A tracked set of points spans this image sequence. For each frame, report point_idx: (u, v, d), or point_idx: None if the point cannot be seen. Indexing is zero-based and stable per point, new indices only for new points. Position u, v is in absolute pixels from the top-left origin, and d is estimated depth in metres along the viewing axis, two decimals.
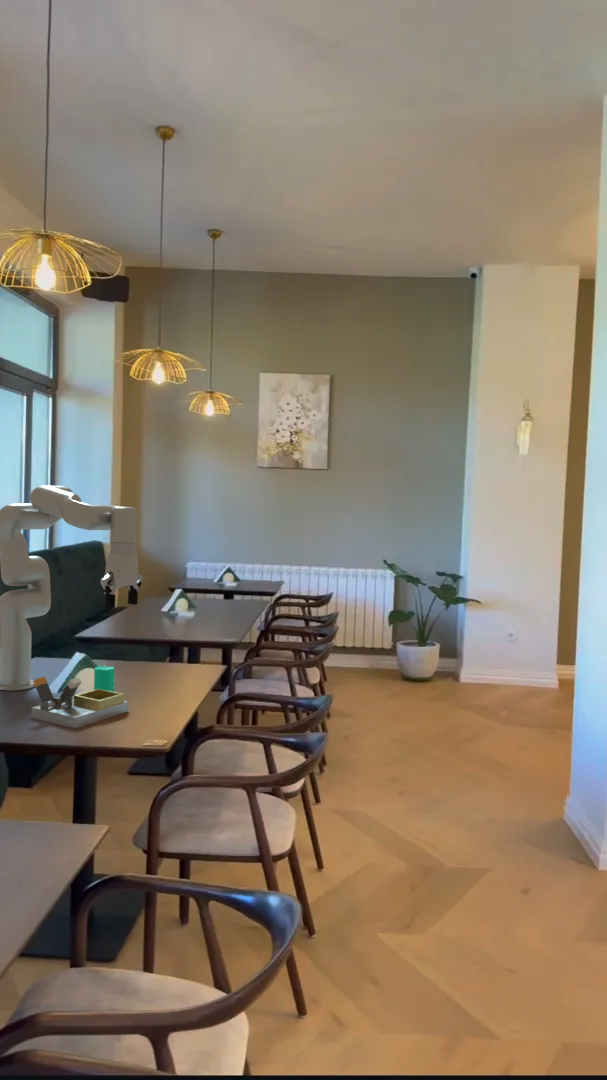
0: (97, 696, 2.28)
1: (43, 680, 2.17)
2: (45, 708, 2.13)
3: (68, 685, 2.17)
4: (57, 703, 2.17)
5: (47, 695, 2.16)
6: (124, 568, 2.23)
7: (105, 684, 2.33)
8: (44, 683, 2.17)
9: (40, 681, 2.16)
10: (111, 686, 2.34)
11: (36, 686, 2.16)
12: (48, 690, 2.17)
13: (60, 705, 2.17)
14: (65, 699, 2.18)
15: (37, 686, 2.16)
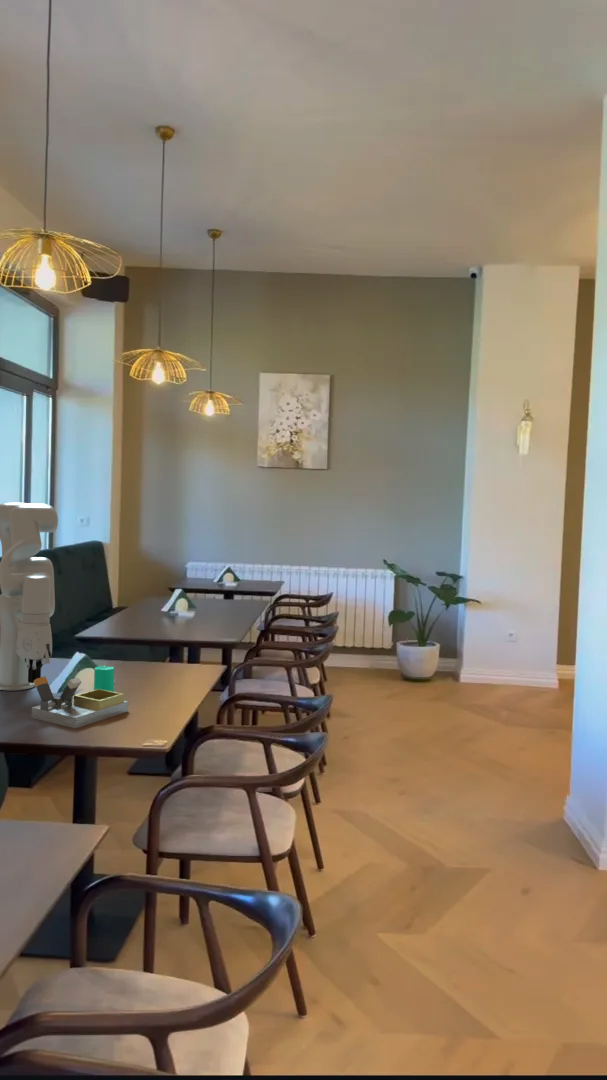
0: (97, 696, 2.28)
1: (44, 680, 2.17)
2: (45, 708, 2.13)
3: (68, 685, 2.17)
4: (57, 703, 2.17)
5: (47, 695, 2.16)
6: None
7: (105, 684, 2.33)
8: (44, 683, 2.17)
9: (40, 681, 2.16)
10: (111, 686, 2.34)
11: (37, 686, 2.16)
12: (48, 690, 2.17)
13: (60, 705, 2.17)
14: (65, 699, 2.18)
15: (38, 686, 2.16)
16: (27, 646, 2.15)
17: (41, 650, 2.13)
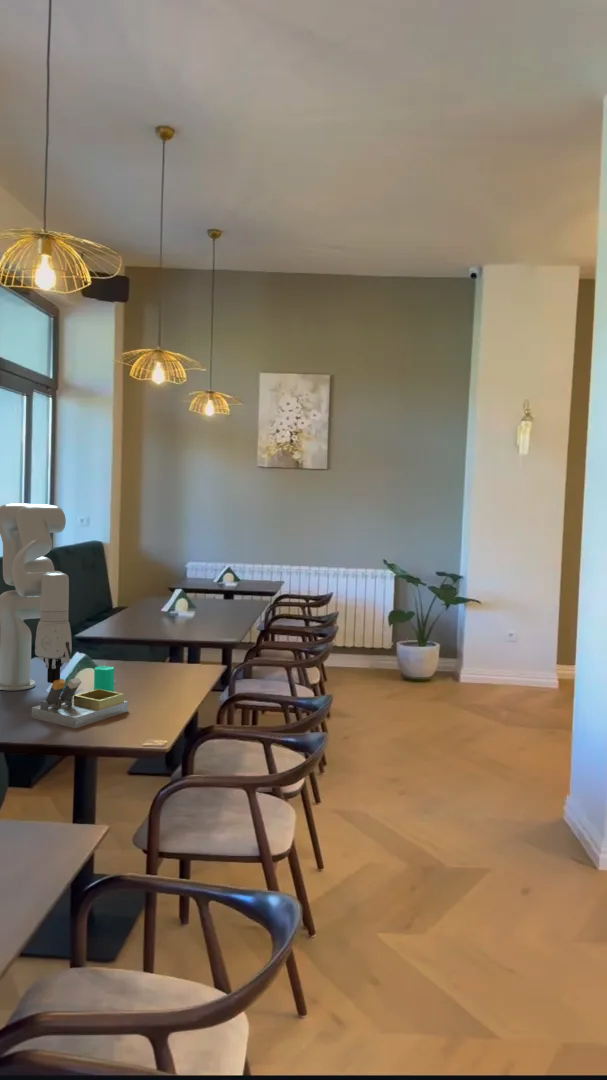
0: (97, 696, 2.28)
1: (62, 686, 2.14)
2: (45, 708, 2.13)
3: (68, 685, 2.17)
4: (57, 703, 2.17)
5: (54, 699, 2.14)
6: None
7: (105, 684, 2.33)
8: (60, 688, 2.14)
9: (58, 686, 2.13)
10: (111, 686, 2.34)
11: (52, 687, 2.13)
12: (58, 694, 2.15)
13: (60, 705, 2.17)
14: (65, 699, 2.18)
15: (53, 688, 2.13)
16: (46, 645, 2.12)
17: (61, 648, 2.10)
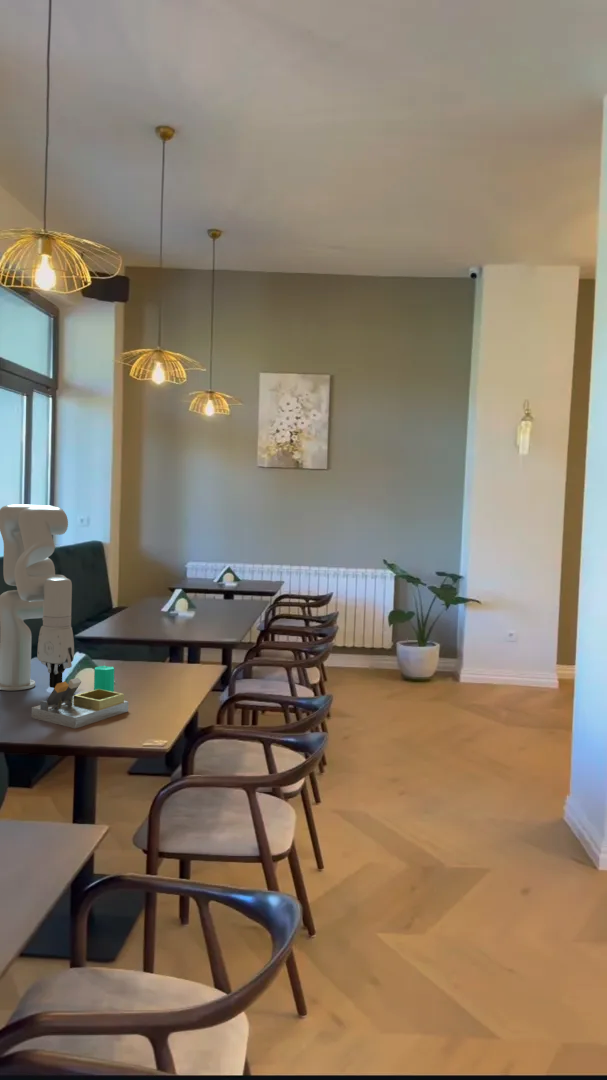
0: (97, 696, 2.28)
1: (64, 689, 2.13)
2: (45, 708, 2.13)
3: None
4: (57, 703, 2.17)
5: (55, 700, 2.14)
6: None
7: (105, 684, 2.33)
8: (62, 691, 2.14)
9: (61, 690, 2.12)
10: (111, 686, 2.34)
11: (55, 689, 2.12)
12: (60, 696, 2.15)
13: (60, 705, 2.17)
14: (65, 699, 2.18)
15: (55, 690, 2.12)
16: (49, 650, 2.11)
17: (63, 654, 2.09)
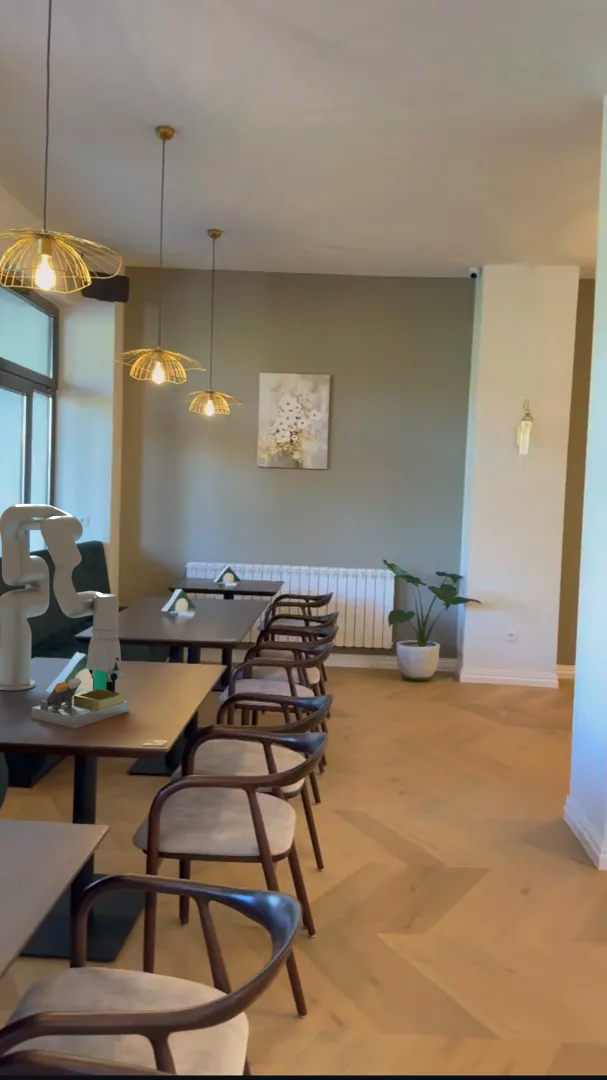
0: (97, 696, 2.28)
1: (64, 689, 2.13)
2: (45, 708, 2.13)
3: None
4: (57, 703, 2.17)
5: (55, 700, 2.14)
6: None
7: (105, 684, 2.33)
8: (62, 691, 2.14)
9: (61, 690, 2.12)
10: None
11: (55, 689, 2.12)
12: (60, 696, 2.15)
13: (60, 705, 2.17)
14: (65, 699, 2.18)
15: (55, 690, 2.12)
16: (98, 660, 2.33)
17: (112, 663, 2.31)
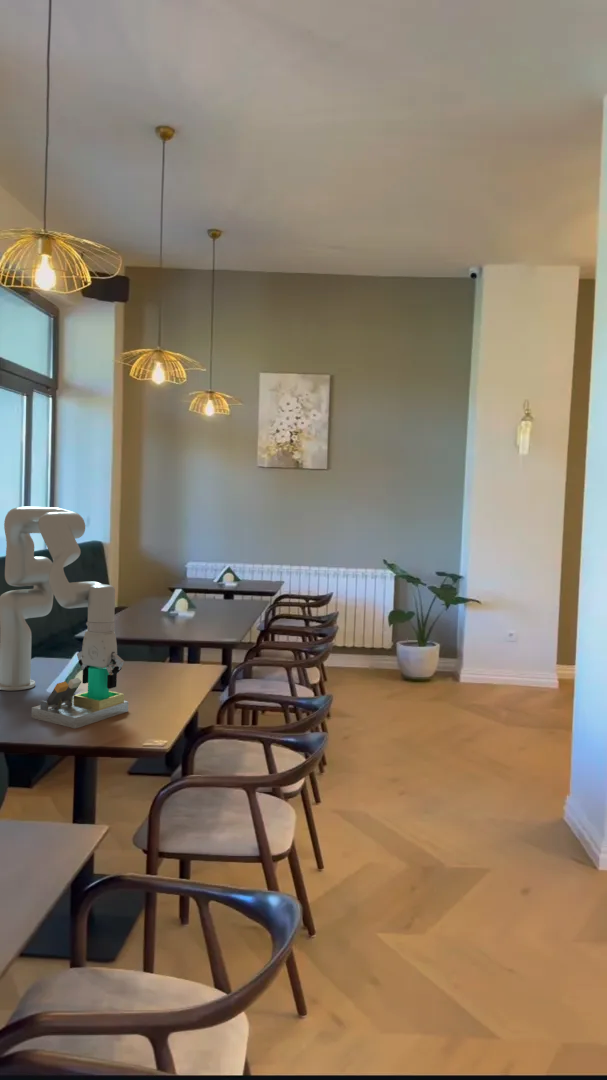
0: None
1: (64, 689, 2.13)
2: (45, 708, 2.13)
3: None
4: (57, 703, 2.17)
5: (55, 700, 2.14)
6: None
7: (100, 684, 2.20)
8: (62, 691, 2.14)
9: (61, 690, 2.12)
10: (106, 686, 2.21)
11: (55, 689, 2.12)
12: (60, 696, 2.15)
13: (60, 705, 2.17)
14: (65, 699, 2.18)
15: (55, 690, 2.12)
16: (93, 654, 2.20)
17: (107, 658, 2.18)
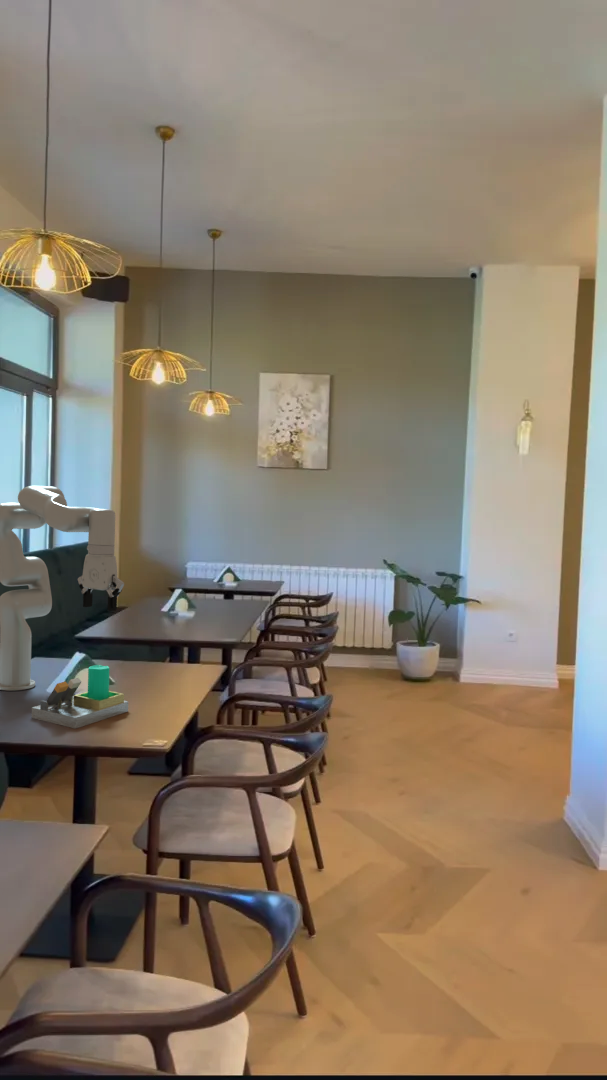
0: None
1: (64, 689, 2.13)
2: (45, 708, 2.13)
3: None
4: (57, 703, 2.17)
5: (55, 700, 2.14)
6: None
7: (99, 684, 2.20)
8: (62, 691, 2.14)
9: (61, 690, 2.12)
10: (106, 686, 2.21)
11: (55, 689, 2.12)
12: (60, 696, 2.15)
13: (60, 705, 2.17)
14: (65, 699, 2.18)
15: (55, 690, 2.12)
16: (93, 577, 2.22)
17: (108, 580, 2.20)
